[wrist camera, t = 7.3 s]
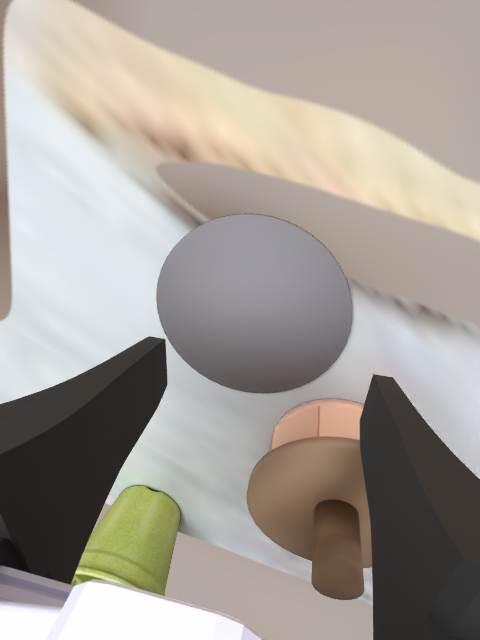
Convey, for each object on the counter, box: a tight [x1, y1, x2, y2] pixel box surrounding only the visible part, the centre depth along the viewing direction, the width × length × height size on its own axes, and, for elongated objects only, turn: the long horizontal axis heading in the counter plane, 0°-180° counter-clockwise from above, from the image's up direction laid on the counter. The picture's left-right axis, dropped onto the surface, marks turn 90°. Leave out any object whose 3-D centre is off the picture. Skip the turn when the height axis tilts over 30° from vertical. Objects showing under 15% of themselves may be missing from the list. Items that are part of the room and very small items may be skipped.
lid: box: [247, 436, 372, 600], centre depth 21 cm, size 11×11×5 cm
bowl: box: [270, 399, 364, 451], centre depth 25 cm, size 9×9×4 cm
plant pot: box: [71, 486, 180, 596], centre depth 32 cm, size 9×9×9 cm
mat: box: [157, 213, 352, 393], centre depth 23 cm, size 12×12×1 cm
